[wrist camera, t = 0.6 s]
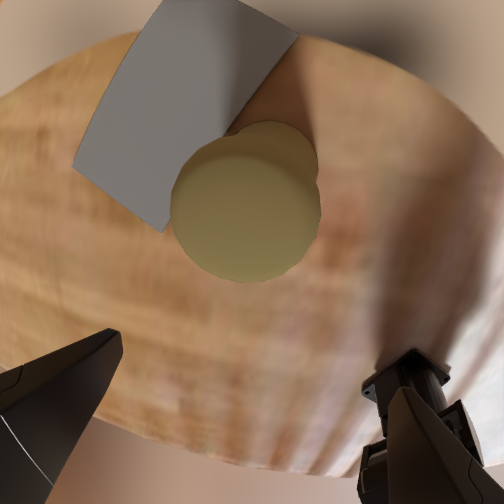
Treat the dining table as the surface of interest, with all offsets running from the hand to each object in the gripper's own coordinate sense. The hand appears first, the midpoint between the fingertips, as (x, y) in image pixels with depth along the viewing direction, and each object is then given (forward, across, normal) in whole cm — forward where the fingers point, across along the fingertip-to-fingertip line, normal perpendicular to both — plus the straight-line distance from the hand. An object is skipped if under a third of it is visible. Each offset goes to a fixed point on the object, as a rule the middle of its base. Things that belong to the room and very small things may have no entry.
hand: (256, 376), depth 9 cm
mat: (+13, +9, -8) cm, 17 cm away
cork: (+13, +2, -4) cm, 14 cm away
